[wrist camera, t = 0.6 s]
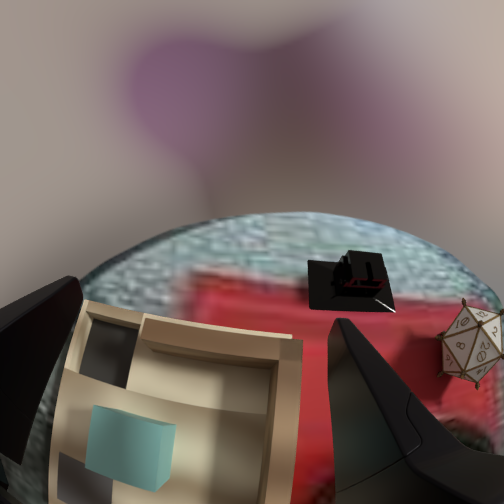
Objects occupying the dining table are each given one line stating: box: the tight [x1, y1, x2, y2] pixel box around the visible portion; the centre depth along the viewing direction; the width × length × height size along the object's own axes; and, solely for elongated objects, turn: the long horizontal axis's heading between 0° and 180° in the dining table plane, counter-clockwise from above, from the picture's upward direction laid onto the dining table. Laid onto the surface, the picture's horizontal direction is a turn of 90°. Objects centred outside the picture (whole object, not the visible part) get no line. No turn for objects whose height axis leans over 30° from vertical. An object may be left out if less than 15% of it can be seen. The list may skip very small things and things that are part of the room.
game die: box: [435, 298, 504, 390], centre depth 19 cm, size 9×8×10 cm
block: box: [85, 405, 176, 492], centre depth 13 cm, size 4×4×4 cm
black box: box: [308, 250, 395, 312], centre depth 25 cm, size 12×7×5 cm, turn 87°
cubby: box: [140, 318, 303, 504], centre depth 13 cm, size 18×10×4 cm, turn 174°
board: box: [48, 300, 292, 504], centre depth 15 cm, size 21×18×2 cm
